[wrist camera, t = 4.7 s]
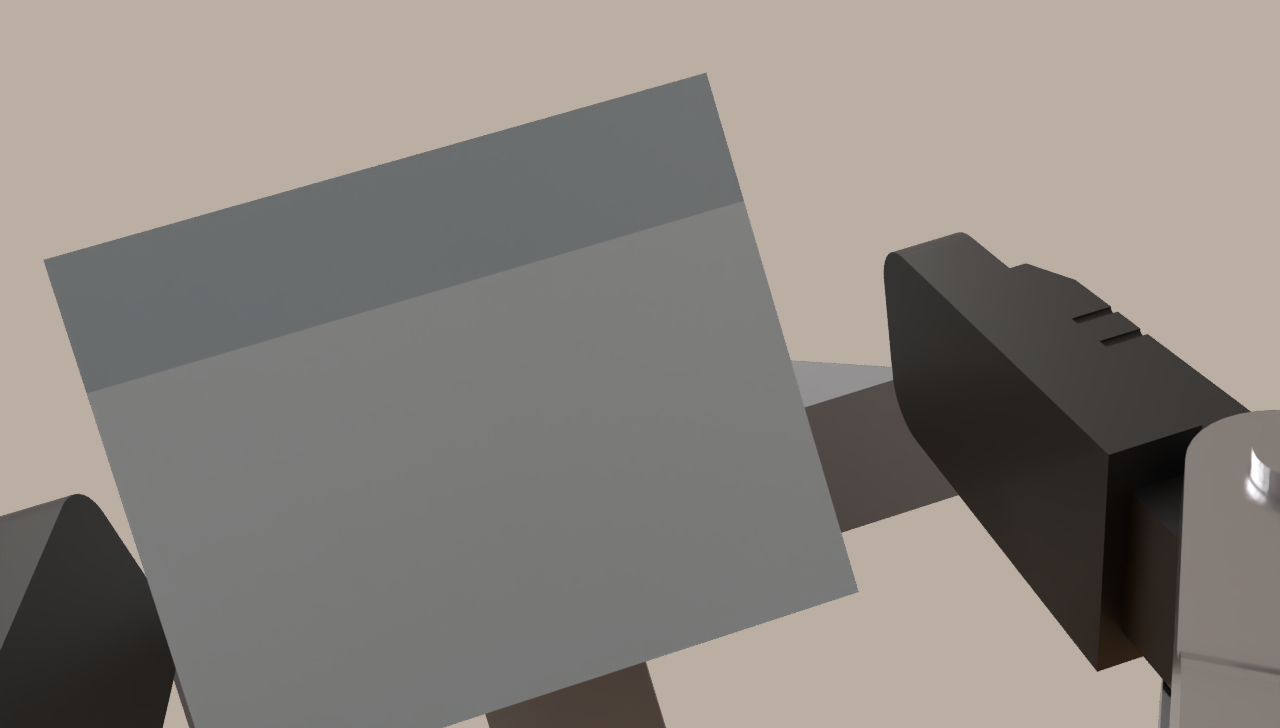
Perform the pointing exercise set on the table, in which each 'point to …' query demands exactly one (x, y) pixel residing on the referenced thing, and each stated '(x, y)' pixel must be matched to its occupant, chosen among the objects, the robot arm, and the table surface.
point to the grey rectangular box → (457, 423)
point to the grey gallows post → (861, 494)
